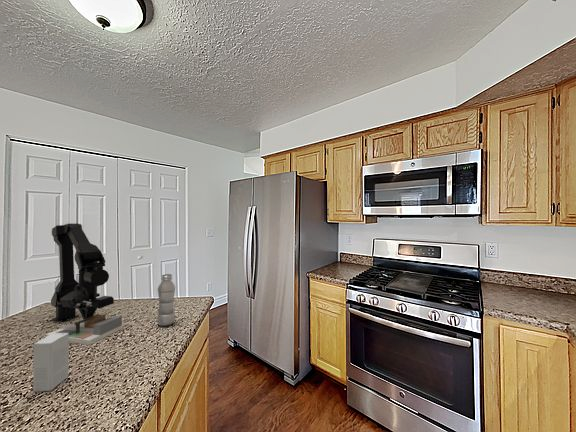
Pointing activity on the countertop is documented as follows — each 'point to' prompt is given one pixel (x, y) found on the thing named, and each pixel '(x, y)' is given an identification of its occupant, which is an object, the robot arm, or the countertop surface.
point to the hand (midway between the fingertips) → (87, 322)
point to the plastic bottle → (166, 301)
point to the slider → (90, 321)
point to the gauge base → (92, 330)
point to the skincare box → (50, 361)
